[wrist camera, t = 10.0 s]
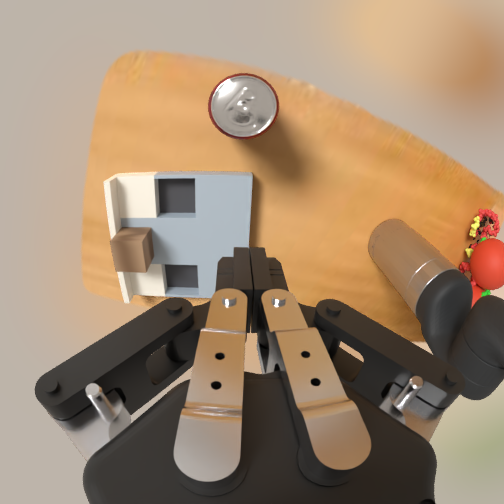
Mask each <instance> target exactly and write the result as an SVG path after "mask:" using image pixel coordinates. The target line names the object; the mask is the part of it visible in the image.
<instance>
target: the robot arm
mask: <svg viewBox="0 0 504 504" xmlns="http://www.w3.org/2000/svg"><path fill="white" fill-rule="evenodd" d="M368 248H369V254H370V256H371V258H372V259H373V260H374V262H375V263H376V264H377V265H378V267H379V268H380V269H381V271H382V272H383V273H384V274H385V276H386V277H387V278H388V279H389V281H390V282H391V283H392V285H393V286H394V287H395V289H396V290H397V291H398V292H399V294H400V295H401V296H402V298H403V299H404V301H405V302H406V303H407V305H408V306H409V307H410V309H411V310H412V311H413V313H414V314H415V316H416V317H417V319H418V320H419V321H420V323H421V330H422V334H423V336H424V339H425V341H426V342H427V344H428V346H429V348H430V349H431V351H432V353H433V355H432V354H430V353H429V352H427V351H425V350H424V349H422V348H420V347H418V346H417V345H415V344H413V343H412V342H410V341H408V340H406V339H405V338H403V337H401V336H399V335H398V334H396V333H394V332H393V331H391V330H389V329H387V328H386V327H384V326H382V325H380V324H379V323H377V322H375V321H374V320H372V319H370V318H368V317H367V316H365V315H363V314H361V313H360V312H358V311H356V310H354V309H353V308H351V307H349V306H348V305H346V304H344V303H342V302H340V301H338V300H333V299H326V300H322V301H320V302H319V303H318V304H317V306H316V307H311V306H306V305H302V304H300V303H298V302H297V300H296V298H295V296H294V295H293V294H292V293H290V292H289V290H288V287H287V283H286V280H285V276H284V273H283V271H282V266H281V263H280V262H279V261H278V260H277V259H276V258H267V257H266V253H265V248H259V247H249V248H248V247H234V249H233V257H222V258H221V259H220V260H219V261H218V265H217V276H216V287H215V293H214V294H213V295H212V298H211V300H210V301H209V302H207V303H205V304H202V305H198V306H192V304H191V303H190V302H189V301H188V300H186V299H183V298H169V299H166V300H164V301H162V302H161V303H159V304H157V305H156V306H154V307H152V308H151V309H149V310H147V311H146V312H145V313H143V314H141V315H139V316H138V317H136V318H134V319H133V320H131V321H130V322H128V323H126V324H125V325H123V326H121V327H120V328H118V329H117V330H115V331H113V332H112V333H110V334H108V335H107V336H105V337H104V338H102V339H100V340H99V341H97V342H96V343H94V344H92V345H91V346H89V347H87V348H86V349H84V350H83V351H81V352H79V353H78V354H76V355H75V356H73V357H71V358H70V359H68V360H66V361H65V362H63V363H62V364H60V365H58V366H57V367H55V368H53V369H52V370H50V371H49V372H47V373H45V374H44V375H43V376H41V377H40V379H39V380H38V381H37V383H36V386H35V395H36V397H37V399H38V400H39V402H40V403H41V404H42V405H43V407H44V408H45V409H46V410H47V412H48V414H49V415H50V416H51V417H52V418H53V419H54V420H55V422H56V423H57V424H58V425H59V426H60V427H61V428H62V429H63V430H64V431H65V432H66V434H67V435H68V436H69V438H70V439H71V441H72V442H73V443H74V445H75V446H76V448H77V449H78V450H79V452H80V453H81V454H82V456H83V457H84V458H85V460H86V461H87V464H86V466H85V469H84V473H83V486H84V490H85V493H86V496H87V498H88V501H89V503H90V504H435V499H434V482H435V475H436V468H437V460H436V455H435V452H434V450H433V448H432V446H431V445H430V443H429V441H430V439H431V437H432V435H433V433H434V431H435V429H436V427H437V425H438V423H439V421H440V419H441V417H442V415H443V412H444V411H445V410H446V409H447V408H448V407H449V406H450V405H451V404H452V403H453V402H454V400H455V399H456V398H457V397H458V396H459V395H460V394H461V395H462V396H464V397H466V398H468V399H471V400H481V399H484V398H486V397H487V396H489V395H490V394H491V393H492V392H493V391H494V390H495V389H496V388H497V387H498V385H499V384H500V383H501V382H502V381H503V379H504V300H503V299H501V298H499V297H496V296H493V295H486V296H482V297H481V298H479V299H478V300H477V301H476V302H475V304H474V305H473V307H472V299H473V288H472V285H471V282H470V281H469V279H468V278H467V277H466V276H465V275H464V274H463V273H462V272H461V271H460V270H459V269H457V268H456V267H455V266H454V265H453V264H452V263H451V262H450V261H449V260H448V259H447V258H445V257H444V256H443V255H442V254H441V253H440V252H439V250H437V249H436V248H435V247H434V246H433V245H432V244H430V243H429V242H428V241H427V240H426V239H425V238H423V237H422V236H421V235H420V234H419V233H417V232H416V231H415V230H414V229H412V228H410V227H409V226H408V225H407V224H405V223H404V222H403V221H401V220H398V219H390V220H387V221H385V222H383V223H381V224H380V225H379V226H378V227H377V228H376V229H375V230H374V232H373V233H372V235H371V237H370V240H369V245H368ZM250 323H251V333H257V336H258V339H257V350H258V355H259V360H260V365H261V370H262V374H255V373H250V372H244V360H245V343H246V339H247V333H250ZM341 341H342V342H343V343H345V344H347V345H348V346H350V347H351V348H353V349H354V350H356V351H358V352H359V353H360V354H361V355H362V356H363V358H364V363H363V362H362V361H360V360H359V359H357V358H355V357H354V356H352V355H351V354H349V353H348V352H346V351H345V350H343V349H342V348H340V347H339V345H340V342H341ZM162 346H163V347H162ZM158 349H159V350H158ZM155 351H156V352H155ZM151 354H152V355H151ZM192 366H193V369H192V374H191V379H189V380H186V381H184V382H182V383H180V384H178V385H177V386H175V387H174V388H172V389H171V390H170V391H169V392H168V393H167V394H165V395H164V396H163V397H162V398H161V399H160V400H158V402H156V403H155V404H154V405H153V406H152V407H150V408H149V409H148V410H147V411H146V412H145V413H143V414H142V415H141V416H140V417H138V418H137V419H136V420H135V421H134V422H133V423H131V417H130V415H132V414H133V413H134V412H136V411H137V410H138V409H139V408H141V407H142V406H143V405H145V404H146V403H147V402H149V401H150V400H151V399H152V398H154V397H155V396H156V395H157V394H158V393H160V392H161V391H162V390H164V389H165V388H166V387H167V386H169V385H170V384H171V383H172V382H174V381H175V380H176V379H177V378H179V377H180V376H181V375H182V374H183V373H185V372H186V371H187V370H188V369H190V368H191V367H192ZM130 423H131V424H130Z"/></svg>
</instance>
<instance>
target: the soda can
mask: <svg viewBox="0 0 504 504" xmlns="http://www.w3.org/2000/svg"><path fill="white" fill-rule="evenodd" d="M208 112H209V116H210V119H211V121H212V123H213V124H214V125H215V127H216V128H217V129H218V130H219V131H220V132H221V133H223V134H225V135H226V136H228V137H231V138H234V139H240V140H244V139H252V138H256V137H258V136H261V135H262V134H264V133H265V132H267V131H268V130H269V129H270V128H271V127H272V125H273V124H274V123H275V121H276V119H277V116H278V112H279V100H278V96H277V94H276V92H275V90H274V88H273V87H272V86H271V84H269V83H268V82H267V81H266V80H265V79H263V78H261V77H259V76H257V75H254V74H248V73H239V74H234V75H231V76H229V77H226V78H225V79H223V80H222V81H220V82H219V83H218V84H217V85H216V86H215V88H214V89H213V91H212V92H211V95H210V97H209V102H208Z"/></svg>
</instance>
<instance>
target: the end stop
mask: <svg viewBox="0 0 504 504" xmlns="http://www.w3.org/2000/svg"><path fill="white" fill-rule="evenodd" d="M104 191H105V200H106V208H107V215H108V222H109V229H110V235H111V239H112V238H113V237H114V236H115V235H116V233H117V232H118V231H119V230H120V229H121V228H122V226H121V218H120V210H119V201H118V191H117V179H116V177H110V178H109V179H107V180H106V181H104ZM117 273H118V277H119V282H120V286H121V290H122V295H123V299H124V303H130V302H131V299H132V297H133V295H134V294H133V289H132V285H131V280H130V275H129V272H117Z"/></svg>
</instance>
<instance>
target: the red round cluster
mask: <svg viewBox="0 0 504 504" xmlns="http://www.w3.org/2000/svg"><path fill="white" fill-rule="evenodd" d="M487 216H488V217H490V218H489V223H490V224H494V225H493V228H494V231H493V230H492V231H491V227H490V225H488V226H487V227H484V228H483V231H482V232H481V231H480V230H479V228H480V227H483V226H485V223H486V221H487V218H486V217H487ZM483 218H484V221H483V220H482V219H483ZM497 218H498V215H497V214H495V213H494V212H493V211H492V212H491V210H488V209H485V210H482V209H479V215H477V217H475V218H474V221H475V223H474V224H472V225H471V227H472V228H471V229H470V233H469V235H470V236H473V237H476V236H477V235H478V234H479V235H481V234H482V235H481V236H480V238H481V241H480V243H479V244H478V241H479V240H477V243H475V244H474V245H472V244H470V246H469V249H468V248H466V249H465V251H466V252H467V255H468V258H471V259H470V263H469V262H466V263H464V262H462V264H460V269H461V270H460V271H461V272H462V273H463V274H464V272H465V270H467V271H470V273H471V274H472V276H471V281H470V282H471V285H472V288H473V299H472V307H473V305H474V304H475V302H476V301H477V300H478V299H479V298H481V297H482V296H486V295H490V294H491V293H490V290H495V289H498V288H500V287H502V286H503V285H504V243H503V242H502V241H500V240H498V239H494V238H491V239H490V238H489V239H487V234H489V235H490V236H492V235H494V237H496V236H497V233H498V232H499V230H500V229H499V221H498V219H497ZM493 220H494V222H495V223H494V222H493ZM481 221H483V222H481ZM487 232H488V233H487ZM490 236H489V237H490ZM474 239H475V238H473V240H474ZM471 253H472V254H471ZM485 289H486V290H485Z"/></svg>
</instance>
